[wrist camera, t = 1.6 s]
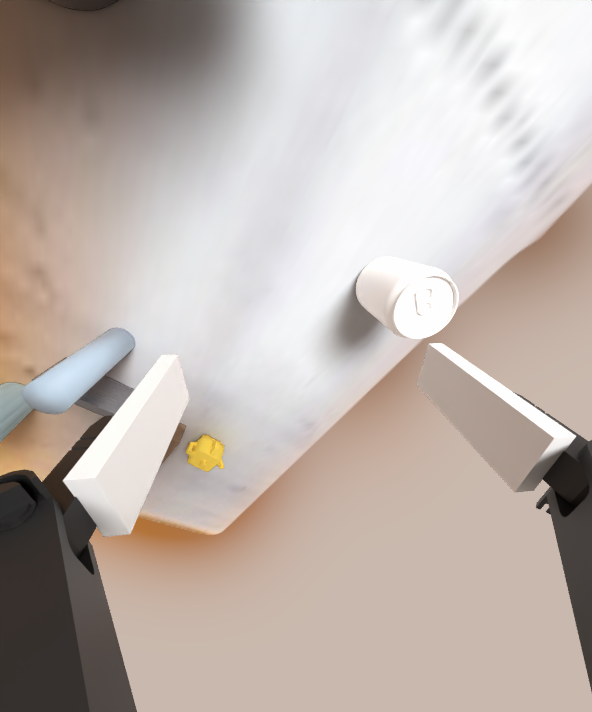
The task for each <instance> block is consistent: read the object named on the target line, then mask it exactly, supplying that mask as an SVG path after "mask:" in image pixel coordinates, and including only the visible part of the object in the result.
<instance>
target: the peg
mask: <svg viewBox="0 0 592 712" xmlns="http://www.w3.org/2000/svg"><path fill="white" fill-rule="evenodd" d="M134 346H135V340H134V338H133V336H132V335H131V334H130V333H129V332H128V331H126V330H124V329H121V328H112V329H110V330H108V331H107V332H105V333H104V334H102V335H101V336H99V337H98V338H96V339H95V340H93V341H92V342H90V343H89V344H87V345H86V346H84V347H83V348H81V349H80V350H78V351H77V352H75V353H74V354H72V355H71V356H69V357H68V358H66V359H65V360H63V361H62V362H60V363H59V364H57V365H56V366H54V367H53V368H51V369H50V370H48V371H47V372H45V373H44V374H42V375H41V376H39V377H38V378H36V379H35V380H33V381H32V382H30V383H29V384H27V385H26V386H25V387H24V388H23V390H22V396H23V398H24V400H25V401H26V403H27V404H28V405H30V406H31V407H32V408H34V409H36V410H38V411H40V412H43V413H47V414H60V413H63V412H65V411H66V410H68V409H69V408H70V407H71V406H72V405H73V404H74V403H75V402H76V401H77V400H78V399H79V398H80V397H82V396H83V395H84V394H85V393H86V392H87V391H88V390H89V389H90V388H91V387H92V386H93V385H94V384H95V383H97V382H98V381H99V380H100V379H101V378H102V377H103V376H104V375H105V374H106V373H107V372H108V371H109V370H111V369H112V368H113V367H114V366H115V365H116V364H117V363H118V362H119V361H120V360H121V359H122V358H123V357H125V356H126V355H127V354H128V353H129V352H130V351H131V350H132V349H133V348H134Z"/></svg>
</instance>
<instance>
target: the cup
mask: <svg viewBox="0 0 592 712" xmlns="http://www.w3.org/2000/svg"><path fill="white" fill-rule="evenodd" d="M24 387H25V385H22V384H19V383H13V382H7V383H3V384H0V442H1V441H2V440H3V439H4V438H5V437H6V436H7V435H8V434H9V433H10V432H11V431H12V430H13V429H14V428H15V427H16V426H17V425H18V424H19V423H20V422H21V421H22V420H23V419H24V418H25V417H26V416H27V415H28V414H29V413H30V412H31V411H32V410H33V409H34V408H32V407H31V406H30V405H28V404H27V403H26V401H25V400H24V398H23V396H22V390H23V388H24Z"/></svg>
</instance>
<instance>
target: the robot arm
mask: <svg viewBox="0 0 592 712" xmlns="http://www.w3.org/2000/svg"><path fill="white" fill-rule="evenodd" d="M49 1H52V2H54V3H56V4H58V5H61V6H64V7H67V8H71V9H77V10H95V9H100V8H103V7H106V6H108V5H111V4H112V3H114V2H116V1H117V0H49ZM416 385H417V386H418V388H420V390H421V391H422V392H423V393H424V394H425V395H426V396H427V397H428V398H429V400H430V401H431V402H432V403H433V404H434V405H435V406H436V407H437V408H438V409H439V410H440V412H441V413H442V414H443V415H444V416H445V417H446V418H447V419H448V420H449V421H450V422H451V423H452V424H453V426H454V427H455V428H456V429H457V430H458V431H459V432H460V433H461V434H462V435H463V436H464V438H465V439H466V440H467V441H468V442H469V443H470V444H471V445H472V446H473V447H474V449H475V450H476V451H477V452H478V453H479V454H480V455H481V456H482V457H483V458H484V459H485V461H486V462H487V463H488V464H489V465H490V466H491V467H492V468H493V469H494V470H495V471H496V472H497V473H498V475H499V476H500V477H501V478H502V479H503V480H504V481H505V482H506V483H507V485H508V486H509V487H510V488H511V489H512V490H513V491H514V492H523V491H532V490H534V489H535V488H536V487H537V485H538V484H539V483H540V482H541V481H542V479H543V480H544V481H545V482H546V483H547V484H549V486H551V487H550V488H549V489H548V490H547V491H546V493H545V494H544V495H543V496H542V497H541V499H540V500H539V501H538V502H537V505H536V508H538V509H541V508H542V507H543V506H544V504H549V508H548V510H547V511H546V512H547V513H549V514H551V517H552V521H553V525H554V530H555V534H556V539H557V543H558V547H559V552H560V556H561V560H562V564H563V569H564V573H565V577H566V582H567V586H568V591H569V595H570V599H571V604H572V608H573V612H574V617H575V621H576V626H577V630H578V634H579V639H580V643H581V647H582V652H583V656H584V660H585V664H586V669H587V673H588V677H589V682H590V686H591V691H592V440H591V441H587V440H585V439H584V438H583V437H581V436H580V435H578V434H577V433H575V432H574V431H572V430H571V429H569V428H568V427H566V426H565V425H564V424H562V423H561V422H559V421H558V420H556V419H555V418H553V417H552V416H550V415H549V414H545V412H544V411H543V410H542V409H540V408H539V407H537V406H534V404H532V403H531V402H530V401H528V400H527V399H525V398H524V397H522V396H521V395H518V394H516V393H514V392H512V391H510V390H509V389H507V388H506V387H504V386H503V385H502V384H500V383H499V382H497V381H496V380H494V379H493V378H491V377H490V376H489V375H487V374H486V373H484V372H483V371H481V370H480V369H479V368H477V367H476V366H474V365H473V364H471V363H470V362H468V361H467V360H465V359H464V358H463V357H461V356H460V355H458V354H457V353H455V352H454V351H452V350H451V349H450V348H448V347H447V346H445V345H444V344H442V343H433V344H428V348H427V351H426V355H425V358H424V361H423V364H422V368H421V371H420V374H419V378H418V381H417V384H416ZM188 401H189V395H188V391H187V387H186V383H185V379H184V376H183V372H182V368H181V364H180V360H179V356H178V354H176V355H161V357H160V358H159V359H158V360H157V362H156V363H155V364H154V366H153V367H152V368H151V369H150V371H149V372H148V373H147V374H146V376H145V377H144V378H143V380H142V381H141V382H140V383H139V385H138V386H137V387H136V388H135V390H134V391H133V392H132V393H131V395H130V396H129V397H128V399H127V400H126V401H125V402H124V404H123V405H122V406H121V407H120V409H119V410H118V411H117V413H116V414H115V415H111V416H104V417H103V418H101V419H100V420H98V421H97V422H96V423H94V424H93V425H91V426H90V427H89V429H88V430H87V431H86V432H85V433H84V434H83V435H82V437H81V438H80V440H78V441H77V442H76V444H75V445H74V446H73V447H72V450H70V451H69V452H68V453H67V454H66V455H65V456H64V457H63V459H62V460H61V461H60V462H59V463H58V464H57V466H56V467H55V468H54V469H53V470H52V471H51V473H50V474H49V475H48V476H47V477H46V478H45V480H44V481H43V482H41V481H40V479H39V478H38V477H37V476H36V474H35V473H34V472H33V471H29V470H19V471H13V472H10V473H7V474H4V475H2V476H0V712H137V710H136V706H135V703H134V699H133V695H132V692H131V688H130V684H129V680H128V677H127V673H126V669H125V666H124V662H123V658H122V654H121V651H120V647H119V643H118V640H117V636H116V632H115V628H114V625H113V621H112V617H111V614H110V610H109V606H108V602H107V599H106V595H105V591H104V587H103V584H102V580H101V577H100V573H99V569H98V565H97V561H96V558H95V554H94V550H93V547H92V545H91V543H90V542H89V539H90V538H91V536H92V534H93V532H94V530H95V529H96V527H97V528H98V530H99V531H100V532H101V534H102V535H103V537H109V536H118V535H127V534H130V533H131V531H132V529H133V527H134V524H135V522H136V520H137V518H138V515H139V513H140V511H141V508H142V506H143V504H144V502H145V499H146V497H147V495H148V492H149V490H150V488H151V486H152V483H153V481H154V479H155V476H156V474H157V472H158V470H159V467H160V465H161V463H162V460H163V458H164V456H165V453H166V451H167V449H168V447H169V444H170V442H171V440H172V437H173V435H174V433H175V431H176V428H177V426H178V424H179V421H180V419H181V417H182V415H183V412H184V410H185V408H186V405H187V403H188Z"/></svg>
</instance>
